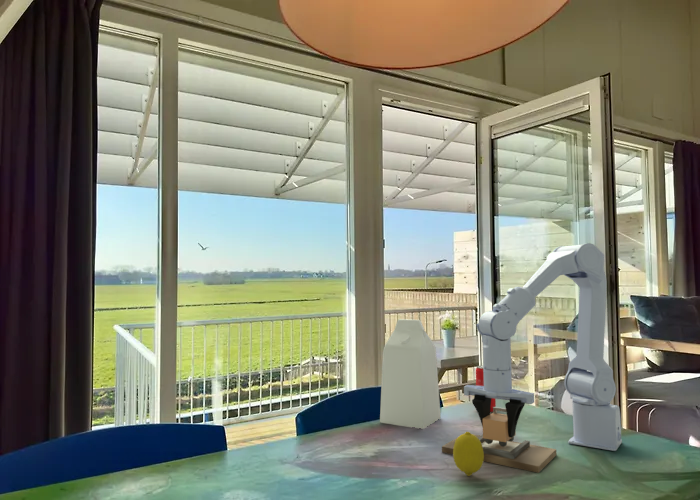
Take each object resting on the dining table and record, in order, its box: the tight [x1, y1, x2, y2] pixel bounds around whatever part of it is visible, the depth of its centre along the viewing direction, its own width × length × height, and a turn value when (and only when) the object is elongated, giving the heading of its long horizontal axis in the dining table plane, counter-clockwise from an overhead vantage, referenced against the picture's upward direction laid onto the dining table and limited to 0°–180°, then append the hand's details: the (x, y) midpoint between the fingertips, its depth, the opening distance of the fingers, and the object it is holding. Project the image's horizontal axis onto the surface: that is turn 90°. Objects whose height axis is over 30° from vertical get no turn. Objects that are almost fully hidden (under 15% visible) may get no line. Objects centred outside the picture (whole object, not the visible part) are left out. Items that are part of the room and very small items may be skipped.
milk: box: [379, 318, 441, 430], centre depth 134 cm, size 12×12×26 cm
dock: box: [441, 432, 557, 473], centre depth 106 cm, size 20×12×2 cm, turn 53°
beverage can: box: [475, 364, 497, 413], centre depth 143 cm, size 5×5×12 cm
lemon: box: [452, 431, 484, 477], centre depth 95 cm, size 6×6×8 cm
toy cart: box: [482, 406, 517, 447], centre depth 107 cm, size 6×5×6 cm
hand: (498, 434), depth 107 cm, fingers closed on toy cart, 5 cm apart
